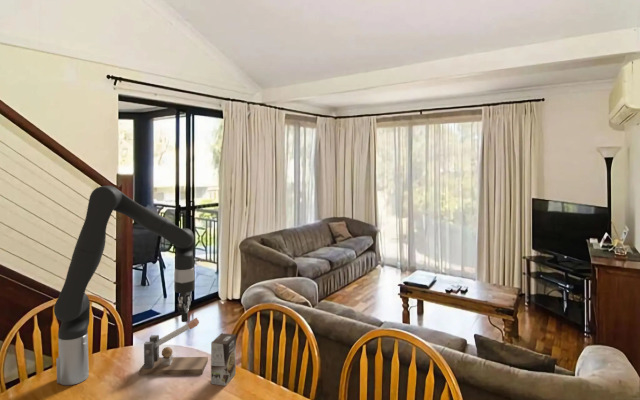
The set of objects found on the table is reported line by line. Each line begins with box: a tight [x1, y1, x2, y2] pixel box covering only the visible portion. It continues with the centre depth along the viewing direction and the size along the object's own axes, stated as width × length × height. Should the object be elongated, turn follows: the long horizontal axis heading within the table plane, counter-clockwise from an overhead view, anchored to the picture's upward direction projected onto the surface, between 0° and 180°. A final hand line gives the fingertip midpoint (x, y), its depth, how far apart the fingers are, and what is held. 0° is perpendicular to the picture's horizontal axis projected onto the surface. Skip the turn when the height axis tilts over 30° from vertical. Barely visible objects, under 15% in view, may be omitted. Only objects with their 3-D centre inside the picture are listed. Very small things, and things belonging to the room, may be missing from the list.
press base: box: [138, 334, 209, 376], centre depth 152 cm, size 24×10×12 cm, turn 94°
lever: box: [154, 317, 200, 348], centre depth 152 cm, size 22×4×2 cm, turn 94°
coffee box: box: [210, 332, 237, 387], centre depth 145 cm, size 9×6×16 cm
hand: (184, 321), depth 152 cm, fingers closed
